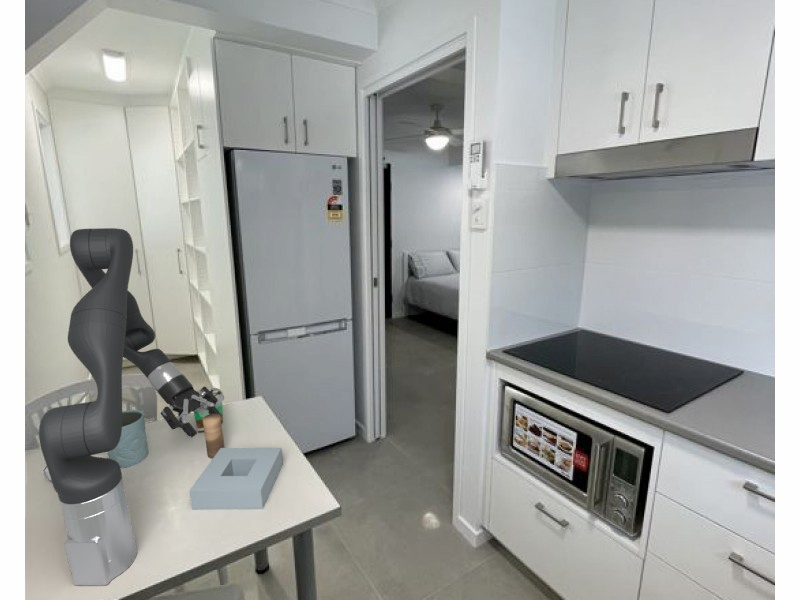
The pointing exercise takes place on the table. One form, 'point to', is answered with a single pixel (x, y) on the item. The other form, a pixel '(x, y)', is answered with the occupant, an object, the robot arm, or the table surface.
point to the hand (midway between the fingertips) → (207, 427)
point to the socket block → (237, 479)
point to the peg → (213, 434)
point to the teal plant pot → (131, 440)
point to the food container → (202, 413)
